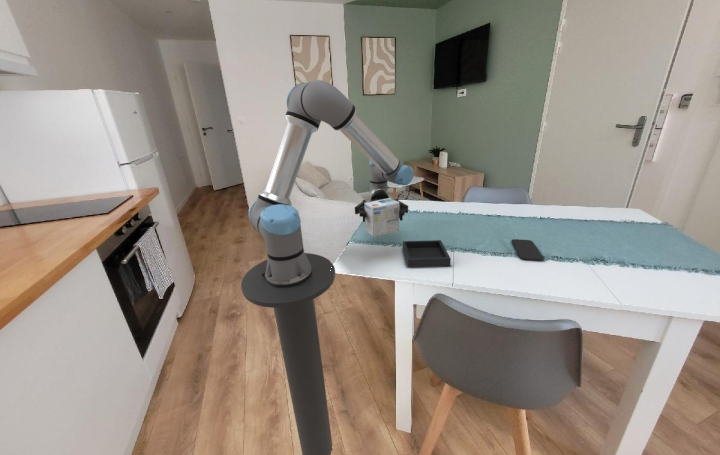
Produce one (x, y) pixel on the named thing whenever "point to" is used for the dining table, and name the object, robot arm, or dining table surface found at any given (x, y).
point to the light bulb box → (382, 216)
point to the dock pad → (426, 254)
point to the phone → (527, 250)
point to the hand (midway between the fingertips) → (382, 217)
